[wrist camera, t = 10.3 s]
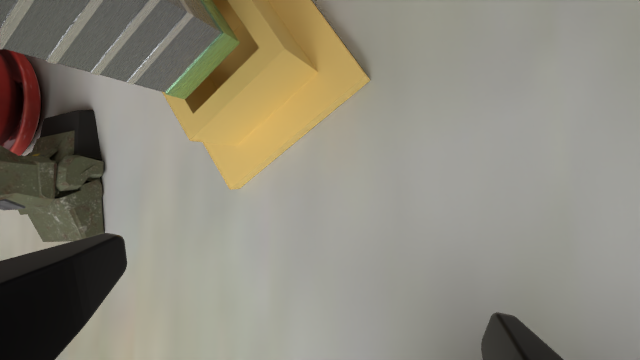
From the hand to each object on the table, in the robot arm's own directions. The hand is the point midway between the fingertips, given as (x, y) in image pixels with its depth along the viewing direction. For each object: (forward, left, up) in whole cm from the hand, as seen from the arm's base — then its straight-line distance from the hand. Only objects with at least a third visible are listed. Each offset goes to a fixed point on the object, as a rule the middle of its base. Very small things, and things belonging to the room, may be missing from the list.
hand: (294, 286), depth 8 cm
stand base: (+10, +8, -12) cm, 17 cm away
